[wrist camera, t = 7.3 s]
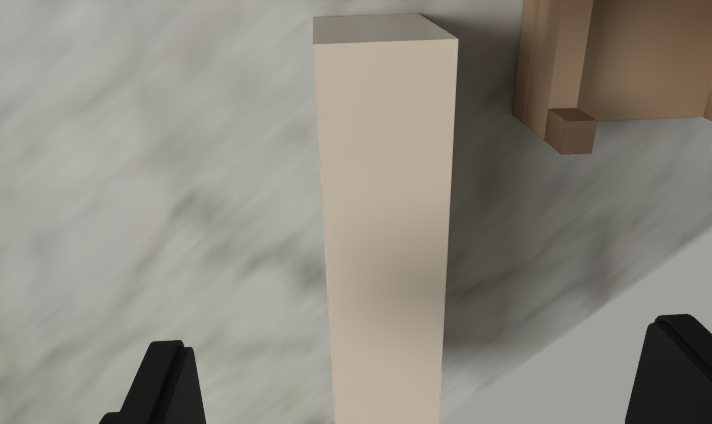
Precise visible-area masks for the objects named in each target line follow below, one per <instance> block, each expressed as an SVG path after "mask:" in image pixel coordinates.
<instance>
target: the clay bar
mask: <svg viewBox="0 0 712 424" xmlns="http://www.w3.org/2000/svg"><path fill="white" fill-rule="evenodd" d="M313 56H314V74H315V91H316V108H317V125H318V142H319V160H320V177H321V194H322V211H323V228H324V245H325V263H326V280H327V297H328V314H329V331H330V349H331V366H332V383H333V400H334V417H335V424H439V410H440V390H441V370H442V351H443V331H444V312H445V292H446V273H447V253H448V234H449V214H450V194H451V175H452V155H453V136H454V116H455V97H456V77H457V58H458V38H456V37H455V36H453V35H451V34H450V33H448V32H447V31H445V30H443V29H442V28H440V27H439V26H437V25H436V24H434V23H432V22H431V21H429V20H428V19H426V18H424V17H423V16H421V15H420V14H418V13H416V14H388V15H359V16H331V17H313Z"/></svg>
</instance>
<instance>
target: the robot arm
mask: <svg viewBox="0 0 712 424" xmlns="http://www.w3.org/2000/svg"><path fill="white" fill-rule="evenodd" d="M99 424H206V420H205V414H204V408H203V402H202V397H201V391H200V385H199V379H198V373H197V368H196V362H195V356H194V351H193V348H192V347H184V344H183V342H182V341H181V340H173V341H153V342H151V344H150V345H149V347H148V349H147V352H146V354H145V356H144V358H143V361H142V363H141V365H140V367H139V370H138V372H137V374H136V376H135V379H134V381H133V383H132V385H131V388H130V390H129V392H128V394H127V397H126V399H125V401H124V403H123V406H122V408H121V410H120V412H110V413H107V414H105V415H104V416H103V418H102V419H101V421H100V422H99ZM625 424H712V334H711V333H710V332H709V331H708V330H707V329H706V328H705V327H704V326H703V325H702V324H701V323H700V322H699V321H697V320H696V319H695V318H694V317H693V316H691V315H689V314H677V315H661V316H658V317H657V318H656V319H655V322H654V323H651V324H650V325H649V326H648V328H647V331H646V335H645V340H644V344H643V348H642V352H641V357H640V361H639V365H638V369H637V373H636V377H635V381H634V385H633V389H632V393H631V398H630V402H629V406H628V410H627V414H626V418H625Z"/></svg>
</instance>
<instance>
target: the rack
mask: <svg viewBox="0 0 712 424" xmlns="http://www.w3.org/2000/svg"><path fill="white" fill-rule="evenodd" d="M512 115H514V116H515V117H516V118H517V119H518V120H519V121H521V122H522V123H523V124H526V125H527V126H528V127H529V128H530V129H532V130H533V131H534V132H535V133H536V134H538V135H539V136H540V137H541V138H542V139H544V140H545V141H546V142H547V143H548V144H550V145H551V146H552V147H553V148H554V149H556V150H557V151H558V152H559V153H560V154H562V155H565V154H590V153H592V148H593V142H594V136H595V131H596V125H597V121H608V120H635V119H662V118H690V117H704V118H706V119H709V120H711V121H712V0H524V7H523V16H522V26H521V35H520V44H519V54H518V63H517V73H516V82H515V91H514V101H513V110H512Z"/></svg>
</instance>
